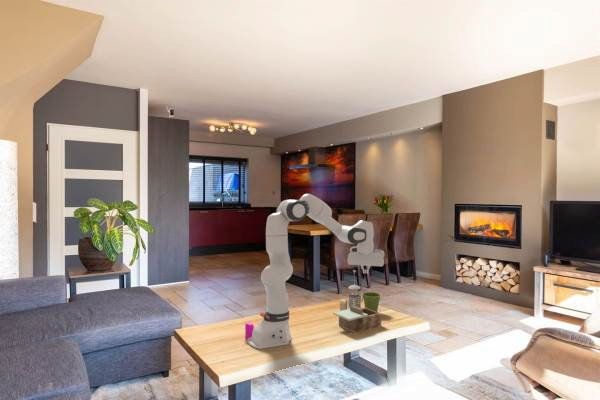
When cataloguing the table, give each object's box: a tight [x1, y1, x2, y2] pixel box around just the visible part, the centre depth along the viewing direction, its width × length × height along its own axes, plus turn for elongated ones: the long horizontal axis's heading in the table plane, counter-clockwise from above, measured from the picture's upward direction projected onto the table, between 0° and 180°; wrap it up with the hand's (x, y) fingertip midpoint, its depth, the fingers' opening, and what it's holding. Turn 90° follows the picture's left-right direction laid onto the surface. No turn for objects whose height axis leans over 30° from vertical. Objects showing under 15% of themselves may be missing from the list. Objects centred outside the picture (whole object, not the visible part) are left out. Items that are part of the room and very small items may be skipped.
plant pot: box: [361, 291, 382, 312], centre depth 233 cm, size 12×12×11 cm
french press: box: [347, 269, 364, 309], centre depth 239 cm, size 10×12×25 cm
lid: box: [332, 306, 368, 321], centre depth 204 cm, size 13×13×4 cm
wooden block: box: [339, 298, 348, 311], centre depth 217 cm, size 3×3×12 cm
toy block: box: [244, 321, 260, 339], centre depth 196 cm, size 15×6×8 cm, turn 136°
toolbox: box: [338, 307, 382, 334], centre depth 209 cm, size 20×13×7 cm, turn 125°
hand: (365, 273), depth 211 cm, fingers closed
